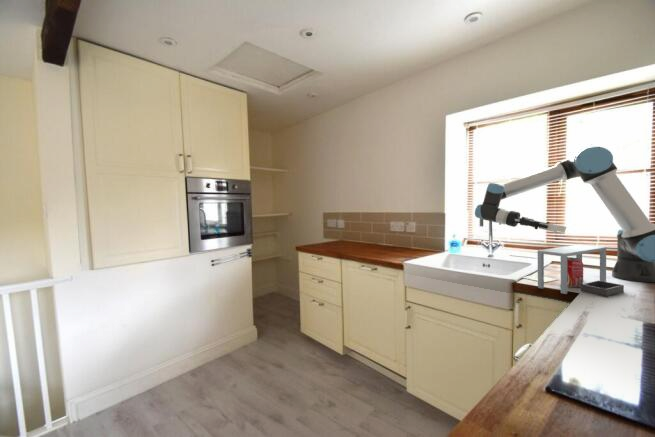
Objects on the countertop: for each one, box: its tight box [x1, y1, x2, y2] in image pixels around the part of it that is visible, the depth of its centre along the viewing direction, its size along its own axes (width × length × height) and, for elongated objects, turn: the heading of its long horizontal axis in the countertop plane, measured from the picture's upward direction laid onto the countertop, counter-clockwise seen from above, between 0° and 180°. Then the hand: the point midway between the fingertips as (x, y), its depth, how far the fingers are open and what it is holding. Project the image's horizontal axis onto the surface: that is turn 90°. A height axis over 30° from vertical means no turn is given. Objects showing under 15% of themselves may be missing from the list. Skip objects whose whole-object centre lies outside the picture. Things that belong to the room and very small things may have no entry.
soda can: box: [567, 256, 584, 288], centre depth 118 cm, size 7×7×12 cm
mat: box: [521, 274, 559, 284], centre depth 131 cm, size 10×10×1 cm
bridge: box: [537, 244, 607, 295], centre depth 118 cm, size 30×10×16 cm, turn 112°
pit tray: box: [580, 280, 625, 298], centre depth 109 cm, size 12×8×3 cm, turn 112°
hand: (561, 229), depth 120 cm, fingers open, 13 cm apart
